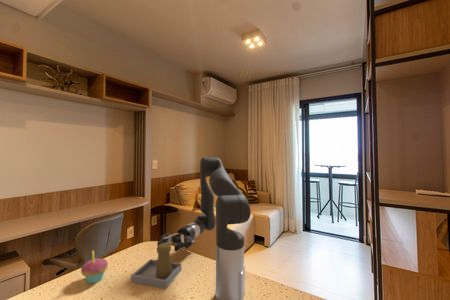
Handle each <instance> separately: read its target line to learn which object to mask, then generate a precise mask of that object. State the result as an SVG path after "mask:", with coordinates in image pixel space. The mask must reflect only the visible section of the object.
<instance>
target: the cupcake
mask: <svg viewBox="0 0 450 300" xmlns="http://www.w3.org/2000/svg"><path fill="white" fill-rule="evenodd" d="M91 255H92V256H91V257H92V258H91V259H89V260H88V261H86V262H85V263H84V264H83V265H81V268H80V269H81V270H80V273H81V275H82V276H83V277H84V278H85V280H86V282H87V284H96V283H98V282H100V281H101V280H102V279H103V277H104V273H105V272H106V270H108V269H107V268H108V266H109V265H108V263H109V262H108V260H106V259H105V258H99V257H95V251H94V250H92V251H91Z"/></svg>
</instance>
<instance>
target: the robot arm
mask: <svg viewBox="0 0 450 300" xmlns="http://www.w3.org/2000/svg"><path fill="white" fill-rule="evenodd" d="M207 176H209V179H208V180H207ZM207 181H208V182H207ZM199 183H200V184H199V185H200V207H199V210H200V212H201V213H202V214H198V215H197V216H196V218H195V219H194V220H193V221H191V222H190V223H188V224H185V225H183V226H182V227H180V228H179V229H178V230H177V231H176V233H173V234H172V232H171V231H169V232H166V233H165V234H163V235H161V236H160V239H159V240H158V241H157V243H156V244H157V247H158V245H159V244H161V243H169V244H170V245H172V244H175V245H174V247H173V248H174V252H178V251H179V250H181V249H189V248H191V246H193V245H195V239H196V238H197V237H198V236H199V235H201V234H202V233H204V231H205V230H206V231H210V232H211V231H213V230H214V228H215V229H216V230H215V231H216V232H215V234H216V235H215V239H216V242H215V246H216V248H215V299H216V300H244V297H245V294H246V292H245V291H246V287H245V285H246V265H245V237H244V235H243V234H242V233H241V232H239V231H237V230H233V229H230V228H229V227H228V225H240V224H244V223H246V222H248V221H249V220H250V218H251V211H252V209H251V205H250V203H249V201H248V198H247V197H246V196H245V195H244V193H243V192H242V191H240V190H239V189H238V187H237V186H236V185H235V183H234V182H233V179H232V178H231V177H230V175H229V174H228V172H227V171H226V169H225V167H224V164H223V162H222V160H221V159H220V158H219V157H213V156H212V157H210V156H209V157H208V156H206V157H205V156H203V157H201V159H200V161H199ZM214 195H215V196H216V197H217V199H216V202H215V196H214ZM214 205H215V206H214ZM214 207H215V209H214ZM214 210H215V211H214Z"/></svg>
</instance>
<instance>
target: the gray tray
mask: <svg viewBox="0 0 450 300" xmlns="http://www.w3.org/2000/svg"><path fill="white" fill-rule="evenodd" d="M157 261H158V259H151V258H150V259H149V260H147V262H145V263H144V264H142V266H141V267H139V268H138V269H137V270H136V271H135V272H133V273H132V274H131V276H130V283H133V284H138V285H143V286H148V287H154V288H159V289H164V290H167V289H168V287H169V286H170V285H171V284H172V282H173V281H174V280H175V279H176V277H177V276H178V275H179V274H180V273H181V271H182V263H177V262H173V261H172V262H171V266H172V273H171V274H170V275H169V276H168V277H166V278H158V277H156V270H157Z"/></svg>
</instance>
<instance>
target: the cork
mask: <svg viewBox="0 0 450 300" xmlns="http://www.w3.org/2000/svg"><path fill="white" fill-rule="evenodd" d="M171 250H172V244H169V243H161V244H159V245H158V246H157V247H156V253H157V254H158V255H157V260H158V261H157V270H156V277H158V278H166V277H168V276H169V275H170V274H171V273H172V266H171V261H172V260H171V255H170V253H171Z"/></svg>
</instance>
